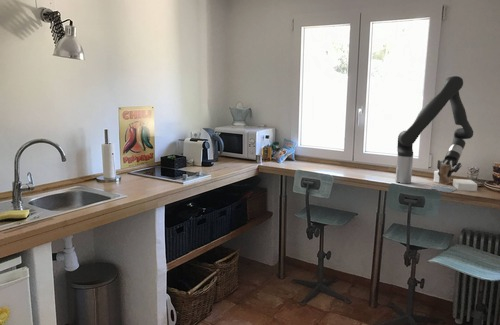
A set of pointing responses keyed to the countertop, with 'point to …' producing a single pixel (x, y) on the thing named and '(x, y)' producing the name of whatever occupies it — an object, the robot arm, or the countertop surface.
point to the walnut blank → (444, 174)
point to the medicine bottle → (437, 177)
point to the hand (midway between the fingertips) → (443, 175)
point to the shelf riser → (464, 185)
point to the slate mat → (444, 189)
